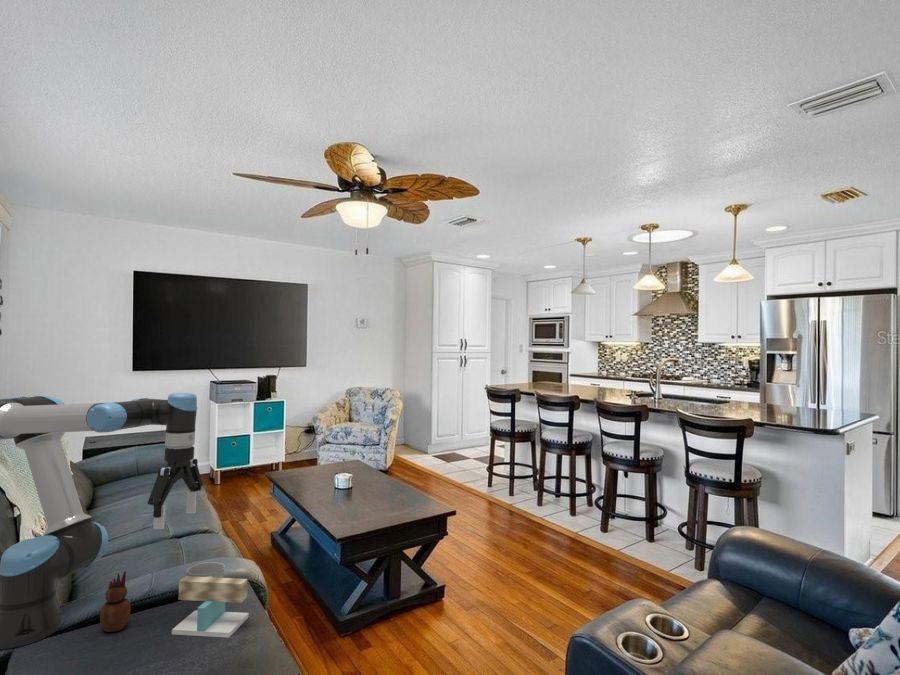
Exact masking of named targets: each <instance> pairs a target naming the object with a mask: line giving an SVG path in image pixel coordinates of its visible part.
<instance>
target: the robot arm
mask: <svg viewBox="0 0 900 675" xmlns="http://www.w3.org/2000/svg"><path fill="white" fill-rule="evenodd" d="M197 399H198V398H197V395H196V394H195V393H192V392H191V393H190V392H176V393H170V394H169V395H168V396H167V399H159V398H158V399H156V398H148V397H145V398H135V399H132V400H128V401H118V402H117V401H115V402H113V401H112V402H96V403H93V402H91V403H89V402H88V403H70V404H69V403H66V404H65V403H64V402H63V401H62V400H61V399H59V398H56V397H55V396H43V395H35V396H28V397H14V398H1V399H0V440H1V441H2V440H3V441H4V440H10V439H11V440H13V441H14V445H15V447H16V448H19V449H21V450H23V451H24V454H25V456H26V460H27V464H28V466H29V469H30V470H29V471H30V473H31V478H32V480H33V483H34V486H35V490H36V493H37V495H38V499H39V502H40V506H41V509H42V512H43V513H42V514H43V516H44V519H45V522H46V525H47V528H46V529H45V531H44V532H43V535H38V536H33V538H27V539H24V540H20V541H19V542H17V543H14V544H13V545H11V546H10V547H8V548H7V549H5V550H4V552H3V553H2V555H1V558H0V650H7V649H13V648H14V649H15V648H19V647H23V646H27V645H30V644H33V643H36V642H38V641H40V640H43V639H45V638H47V637H50V636H51V635H53V634H54V633H56V632H57V631H58V630H59V629H60V628H61V627H62V625H63V622H64V620H63V618H64V614H63V612H62V610H61V607H60V604H59V601H58V599H57V581H59V580H60V579H63V578H65V577H68V576H70V575H72V574H74V573H76V572H78V571H80V570H83V569H85V568H88V567H89V566H90V565H92V564H93V563H96V562H97V561H99V559H101V558H102V557H103V555H104V554H105V552H106V550H107V548H108V544H109V534H108V532H107V529H106V527H105V526H104V525H101V523H98V522H95V521H94V520H93V517H92V515H89V514H86V513H84V510H83V508H82V504H81V501H80V497H79V494H78V491H77V488H76V485H75V480H74V479H73V475H72V472H71V470H70V466H69V462H68V459H67V457H66V452H65V450H64V447H63V443H62V441H61V440H62V438H63V436H64V435H65V434H66V433H72V432H73V433H74V432H75V433H76V432H95V433H113V432H115V431H116V432H117V431H121V430H125V429H133V428H139V427H145V426H165V427H166V428H165V438H164V439H165V441H164V446H165V447H166V448H165V449H164V457H163V458H164V461H165V462H166V463H167V466H166V467H158V470H157V476H156V479H155V482H154V484H153V487H152V490H151V491H150V492H151V493H150V494H149V497H148V500H147V505H148V506H153V511H152V512H153V515H152V516H153V525H152V527H153V529H155V530H164V529H165V520H166V506H167V505H166V504H165V501H166V500H167V498H168V496H169V494H170V492H171V490H172V488H173V486H174V484H176V483H177V482H178V481H179V480H181V479H182V480H183V483H185V485H186V487H187V488H188V490H187V491H186V500H185V502H186V504H185V514H194V515H195V514H196V513H197V499H198V491H199V492H200V491H202V487H203V480H202V476H201V474H200V469H199V466H198V459H197V458H194V457H195V447H194V445H195V440H196V439H195V438H196V420H197V414H198V413H197V411H198V403H197V401H198V400H197Z"/></svg>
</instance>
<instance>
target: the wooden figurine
mask: <svg viewBox="0 0 900 675" xmlns="http://www.w3.org/2000/svg"><path fill="white" fill-rule="evenodd" d="M126 573H127V572H126V571H124V572H123V575H122V577H121V576H120V573H117V576H116V578H115V577H114V578H113V580H111V581H109V584H108V588H107V590H106V591H105V603H104V604H103V605H102V607H101V609H100V611H99V612H100V613H99V621H100V625H101V628H102V630H103V631H105V632H106V633H114V632H119V631H121V630H122V629H125V627H126V625H127V624H128V622H129V620H130V616H131V610H132V608H131V607H132V606H131V603H130V601H129V600H128V599H127V598H126V597H127V594H128V589H127V586H126V576H127V575H126ZM120 577H121V578H120Z"/></svg>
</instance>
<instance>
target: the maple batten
mask: <svg viewBox="0 0 900 675" xmlns="http://www.w3.org/2000/svg"><path fill="white" fill-rule="evenodd" d="M177 598H178V600H179V601H194V602H195V601H196V602H198V601H199V602H205V601H214V602H225V603H237V604H239V603H240V604H241V603H243V602H245V600H246V599H247V598H248V578H236V577H235V578H234V577H232V578H231V577H223V578H215V577H192V576H184V577H183V578H181V579H180V580H179V581H178V597H177Z"/></svg>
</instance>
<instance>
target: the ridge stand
mask: <svg viewBox="0 0 900 675" xmlns="http://www.w3.org/2000/svg"><path fill="white" fill-rule="evenodd" d="M248 619H249V612H234V611H226V602H214V601H203V603H201V604H200V605H198V607H197V610H196V609H195V610H193V611H192V612H191V613H190V614H189V615H188V616H186V617H184V619H183V620H182V621H181V622H179V623H178V624H177V625H175V627H174V628H172V629H171V635H178V636H193V637H194V636H195V637H212V638H213V637H215V638H228V639H229V638H231V636H232V635H233V634H234V633H236V631H238V629H239V628H240V627H241V626H242V625H244V623H245V622H246V621H247V620H248Z"/></svg>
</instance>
